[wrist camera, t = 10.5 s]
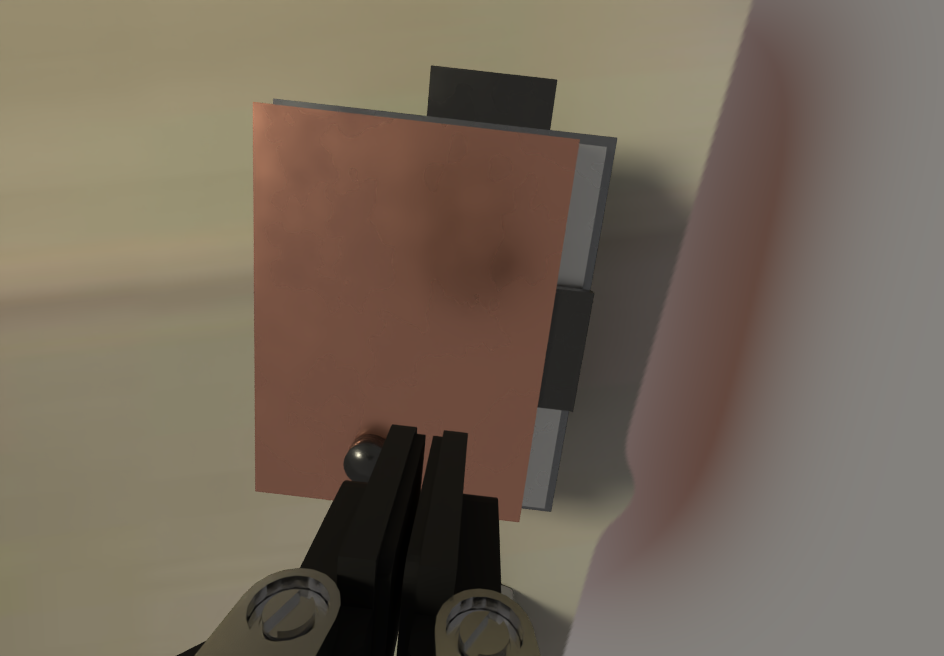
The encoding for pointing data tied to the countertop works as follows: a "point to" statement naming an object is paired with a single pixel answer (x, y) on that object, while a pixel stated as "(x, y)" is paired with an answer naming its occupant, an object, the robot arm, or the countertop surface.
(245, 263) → the countertop surface
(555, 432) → the cooker base
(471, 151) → the lid
